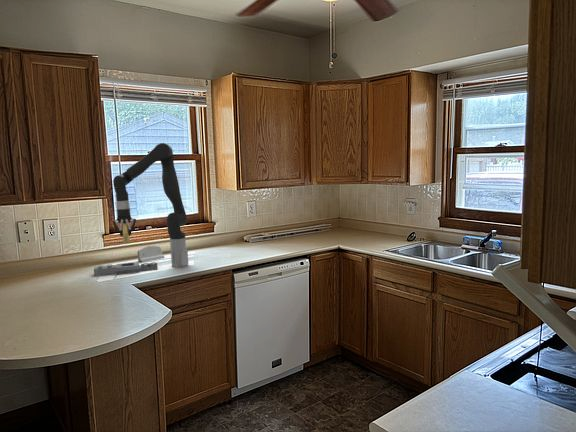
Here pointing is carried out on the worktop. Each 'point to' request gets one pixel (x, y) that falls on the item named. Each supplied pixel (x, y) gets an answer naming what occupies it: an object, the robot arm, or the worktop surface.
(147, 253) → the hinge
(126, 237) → the brass pin
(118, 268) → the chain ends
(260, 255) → the worktop surface
